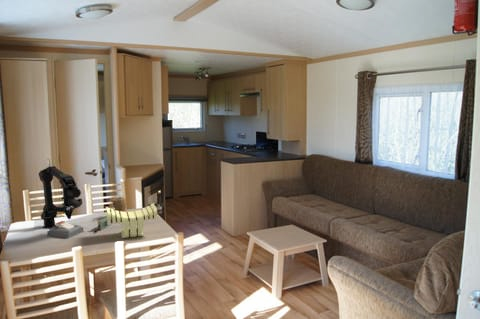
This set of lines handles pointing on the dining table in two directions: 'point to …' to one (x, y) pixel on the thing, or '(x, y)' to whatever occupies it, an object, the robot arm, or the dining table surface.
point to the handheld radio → (103, 224)
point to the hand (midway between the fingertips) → (69, 218)
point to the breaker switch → (65, 225)
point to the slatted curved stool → (132, 220)
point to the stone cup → (120, 205)
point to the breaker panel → (65, 231)
